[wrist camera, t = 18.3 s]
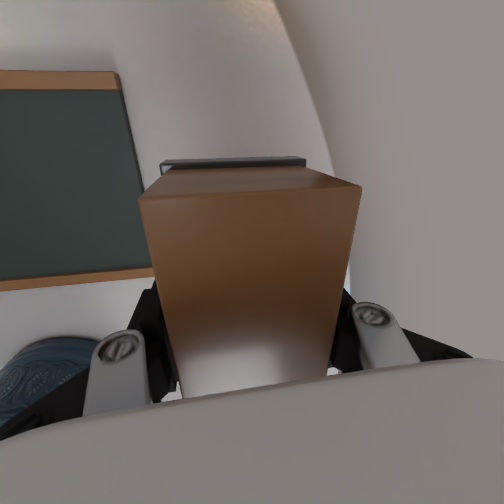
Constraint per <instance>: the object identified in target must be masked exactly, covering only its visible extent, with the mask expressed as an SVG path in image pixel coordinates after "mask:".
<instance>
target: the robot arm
mask: <svg viewBox="0 0 504 504" xmlns="http://www.w3.org/2000/svg"><path fill="white" fill-rule="evenodd" d="M331 367H335V368H337V369H338V374H336V375H329V376H323V377H316V378H310V379H304V380H297V381H291V382H285V383H278V384H272V385H266V386H259V387H253V388H247V389H240V390H234V391H228V392H222V393H216V394H209V395H203V396H197V397H191V398H185V399H179V400H173V401H167V402H162V398H163V397H164V396H165V395H166V394H168V393H169V392H174V391H176V385H177V381H179V380H178V376H177V372H176V367H175V363H174V359H173V354H172V350H171V345H170V341H169V337H168V332H167V328H166V323H165V319H164V315H163V310H162V306H161V301H160V297H159V293H158V288H157V284H156V280H155V281H154V283H153V286H152V288H151V289H145V290H144V291H143V292H142V294H141V297H140V299H139V302H138V304H137V306H136V309H135V311H134V313H133V316H132V318H131V320H130V323H129V325H128V327H127V330H121V331H118V332H115V333H113V334H111V335H109V336H107V337H106V338H104V339H103V340H102V341H101V342H99V343H98V345H97V346H96V347H95V349H94V351H93V354H92V358H91V365H90V366H89V367H87V368H86V369H84V370H83V371H81V372H80V373H78V374H77V375H75V376H74V377H72V378H71V379H69V380H68V381H66V382H65V383H63V384H62V385H60V386H59V387H57V388H56V389H54V390H53V391H51V392H50V393H48V394H46V395H45V396H43V397H42V398H40V399H39V400H37V401H36V402H34V403H33V404H31V405H30V406H28V407H27V408H25V409H24V410H22V411H21V412H19V413H18V414H16V415H15V416H13V417H12V418H11V419H9V420H8V421H7V422H5V423H4V424H3V425H2V426H1V427H0V504H504V361H501V360H493V359H479V358H473V357H471V356H470V355H468V354H467V353H465V352H463V351H461V350H459V349H457V348H454V347H451V346H448V345H446V344H443V343H440V342H438V341H435V340H433V339H430V338H427V337H424V336H422V335H419V334H416V333H414V332H411V331H408V330H406V329H403V328H401V327H400V326H399V324H398V322H397V320H396V319H395V317H394V316H393V314H392V313H391V312H390V311H389V310H387V309H386V308H384V307H382V306H380V305H378V304H375V303H370V302H360V303H356V302H355V300H354V299H353V298H352V297H351V296H350V294H349V293H348V292H347V291H346V290H345V289H344V288H343V292H342V297H341V303H340V308H339V313H338V318H337V323H336V329H335V334H334V339H333V344H332V349H331V355H330V360H329V365H328V368H331Z"/></svg>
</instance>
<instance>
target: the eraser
mask: <svg viewBox="0 0 504 504" xmlns="http://www.w3.org/2000/svg"><path fill="white" fill-rule="evenodd" d="M160 172H161V177H160V178H158V179H157V180H156V181H155V182H154V183H153V184H152V185H151V186H150V187H149V188H148V189H147V190H146V191H145V192H144V193H143V194H142V195H141V196H139V197H138V205H139V209H140V214H141V218H142V222H143V227H144V231H145V236H146V240H147V244H148V249H149V253H150V258H151V262H152V266H153V271H154V275H155V280H156V284H157V288H158V293H159V297H160V301H161V306H162V310H163V315H164V319H165V323H166V328H167V332H168V337H169V341H170V345H171V350H172V354H173V359H174V363H175V367H176V372H177V376H178V380H179V385H180V389H181V394H182V398H183V399H185V398H191V397H197V396H203V395H209V394H216V393H222V392H228V391H234V390H240V389H247V388H253V387H259V386H266V385H272V384H278V383H285V382H291V381H297V380H304V379H310V378H316V377H323V376H326V375H327V370H328V365H329V360H330V355H331V349H332V344H333V339H334V334H335V329H336V323H337V318H338V313H339V308H340V303H341V297H342V292H343V287H344V282H345V277H346V271H347V266H348V261H349V256H350V251H351V245H352V240H353V235H354V230H355V225H356V219H357V214H358V209H359V204H360V199H361V193H362V187H361V186H358V185H355V184H353V183H350V182H347V181H344V180H341V179H338V178H335V177H332V176H329V175H327V174H324V173H321V172H318V171H315V170H312V169H309V168H306V159H304V158H300V157H296V156H285V157H250V158H215V159H179V160H165V161H163V162H162V163H160Z"/></svg>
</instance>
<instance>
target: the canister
mask: <svg viewBox="0 0 504 504" xmlns="http://www.w3.org/2000/svg"><path fill="white" fill-rule="evenodd" d="M97 345H98V343H96V342H93V341H89V340H83V339H75V338H58V339H50V340H46V341H42V342H39V343H36V344H33V345H31V346H29V347H27V348H26V349H24V350H23V351H22V352H20V353H19V354H18V355H17V356H15V357H14V358H13V359H11V360H10V361H9V362H8V363H7V364H6V365H5V366H4V367H3V369H1V370H0V427H1V426H2V425H3V424H4V423H5V422H7V421H8V420H9V419H11V418H12V417H13V416H15V415H16V414H18V413H19V412H21V411H22V410H24V409H25V408H27V407H28V406H30V405H31V404H33V403H34V402H36V401H37V400H39V399H40V398H42V397H43V396H45V395H46V394H48V393H50V392H51V391H53V390H54V389H56V388H57V387H59V386H60V385H62V384H63V383H65V382H66V381H68V380H69V379H71V378H72V377H74V376H75V375H77V374H78V373H80V372H81V371H83V370H84V369H86V368H87V367H89V366H90V365H91V358H92V354H93V351H94V349H95V347H96V346H97Z"/></svg>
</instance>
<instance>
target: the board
mask: <svg viewBox="0 0 504 504" xmlns="http://www.w3.org/2000/svg"><path fill="white" fill-rule="evenodd" d="M143 193H144V189H143V185H142V180H141V176H140V171H139V167H138V162H137V158H136V153H135V148H134V144H133V139H132V135H131V130H130V126H129V121H128V117H127V112H126V108H125V103H124V98H123V94H122V89H121V84H120V80H119V75H118V74H116V73H115V72H113V71H28V70H0V291H9V290H19V289H30V288H40V287H51V286H61V285H72V284H82V283H93V282H103V281H114V280H124V279H135V278H145V277H155V275H154V271H153V266H152V262H151V258H150V253H149V249H148V244H147V240H146V236H145V231H144V227H143V222H142V218H141V214H140V209H139V205H138V197H139V196H141V195H142V194H143Z"/></svg>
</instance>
